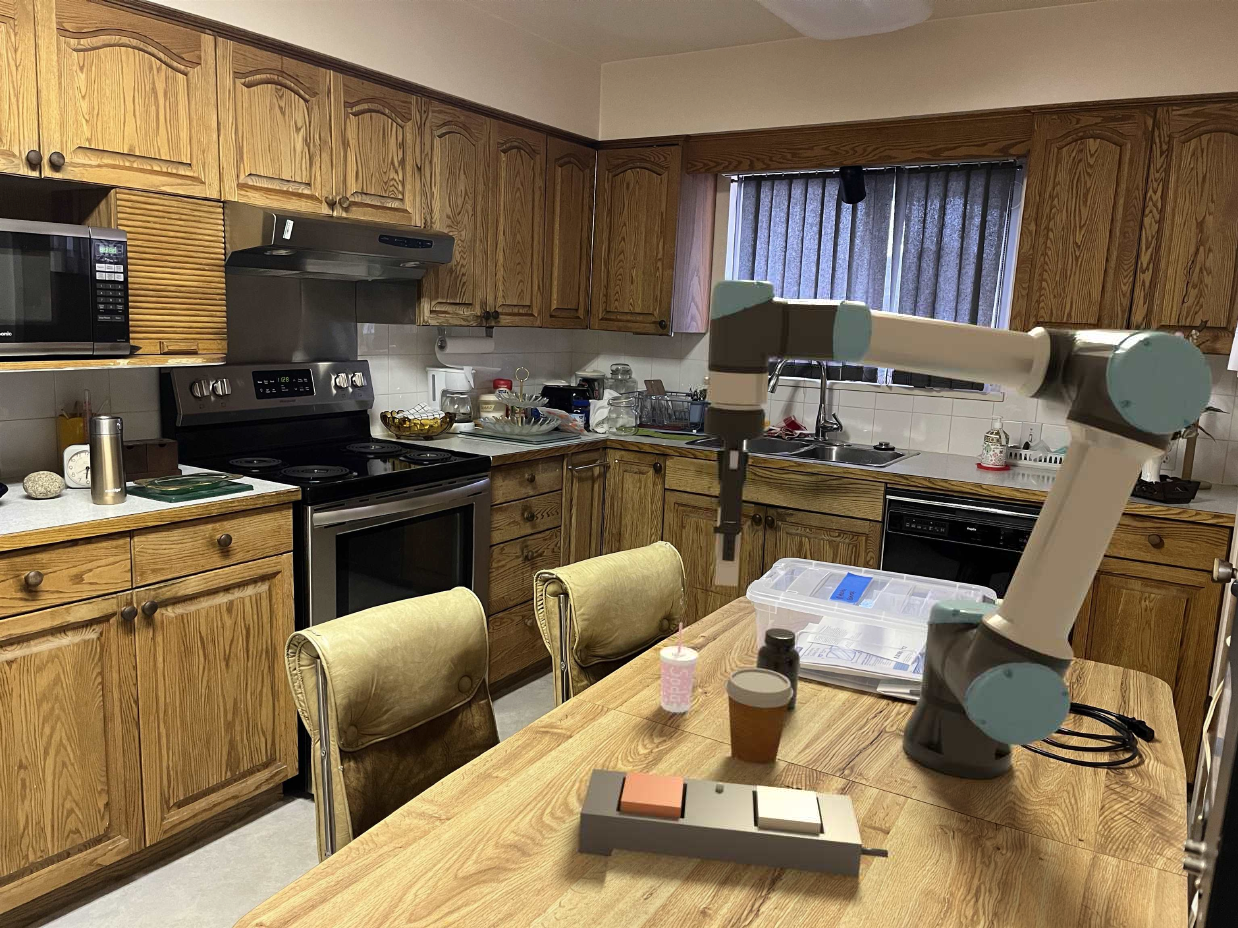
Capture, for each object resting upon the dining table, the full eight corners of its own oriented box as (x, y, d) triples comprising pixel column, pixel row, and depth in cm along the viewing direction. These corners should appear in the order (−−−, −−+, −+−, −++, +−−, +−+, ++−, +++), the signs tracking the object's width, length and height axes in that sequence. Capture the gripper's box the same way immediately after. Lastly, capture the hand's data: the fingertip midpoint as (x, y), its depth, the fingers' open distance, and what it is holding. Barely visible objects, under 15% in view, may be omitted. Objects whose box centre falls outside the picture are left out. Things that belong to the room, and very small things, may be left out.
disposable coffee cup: (786, 780, 126) (793, 697, 124) (716, 769, 128) (722, 688, 126) (787, 748, 135) (794, 671, 133) (723, 739, 137) (728, 663, 135)
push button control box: (879, 836, 114) (883, 793, 113) (894, 888, 103) (899, 841, 102) (591, 804, 117) (593, 762, 116) (578, 851, 107) (580, 806, 106)
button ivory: (811, 828, 113) (815, 791, 112) (816, 862, 106) (820, 823, 105) (753, 822, 113) (757, 785, 113) (755, 855, 107) (758, 816, 106)
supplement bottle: (745, 699, 151) (750, 630, 149) (773, 690, 156) (779, 623, 154) (775, 715, 146) (781, 643, 144) (804, 705, 150) (810, 635, 148)
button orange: (681, 814, 114) (683, 777, 114) (678, 846, 108) (680, 807, 107) (625, 807, 115) (627, 771, 114) (618, 839, 108) (621, 800, 107)
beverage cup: (650, 709, 146) (656, 625, 144) (664, 694, 152) (669, 614, 149) (687, 717, 144) (693, 632, 141) (699, 702, 149) (705, 620, 147)
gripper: (706, 394, 128) (698, 542, 131) (704, 415, 103) (694, 596, 107) (761, 397, 127) (751, 546, 131) (771, 419, 103) (759, 601, 106)
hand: (725, 569), depth 119 cm, fingers open, 13 cm apart
